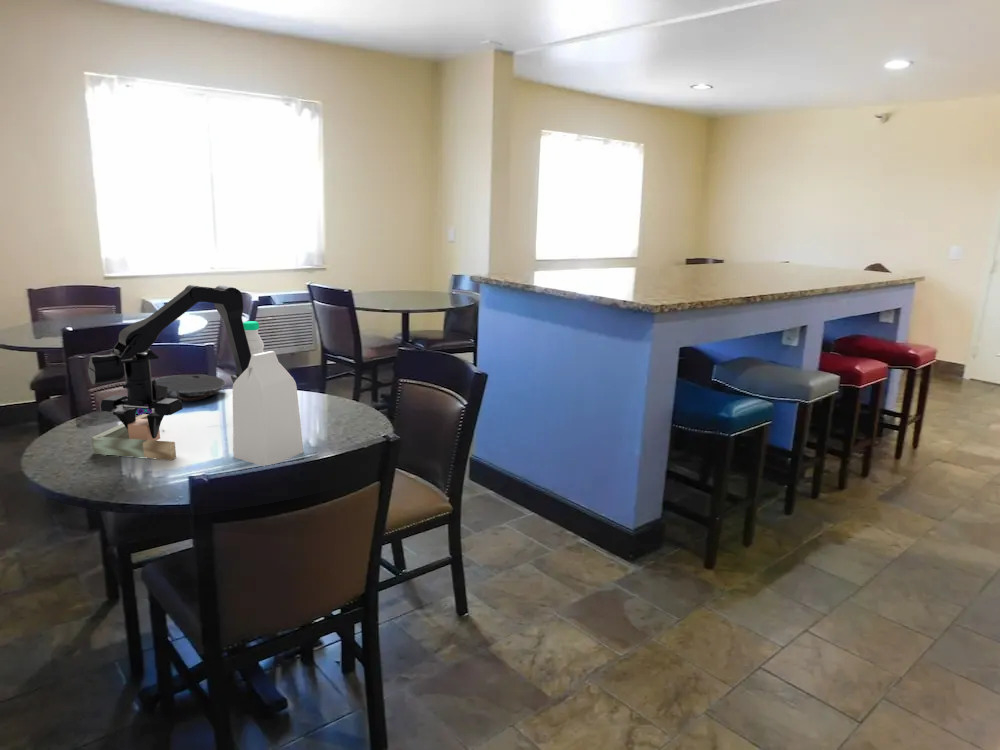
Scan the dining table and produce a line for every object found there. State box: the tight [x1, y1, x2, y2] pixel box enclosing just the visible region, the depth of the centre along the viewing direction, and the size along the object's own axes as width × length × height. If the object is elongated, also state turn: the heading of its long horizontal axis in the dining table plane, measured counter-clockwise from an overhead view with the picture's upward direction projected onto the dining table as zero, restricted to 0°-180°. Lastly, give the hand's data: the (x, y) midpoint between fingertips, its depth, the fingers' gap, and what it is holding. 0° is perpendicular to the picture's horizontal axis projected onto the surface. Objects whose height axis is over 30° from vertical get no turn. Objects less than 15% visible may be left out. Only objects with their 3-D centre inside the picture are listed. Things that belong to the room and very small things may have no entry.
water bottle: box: [243, 320, 265, 356], centre depth 213 cm, size 7×7×25 cm
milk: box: [232, 350, 304, 467], centre depth 166 cm, size 12×12×26 cm
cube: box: [128, 419, 161, 441], centre depth 172 cm, size 5×5×5 cm
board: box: [154, 374, 227, 403], centre depth 218 cm, size 22×22×5 cm
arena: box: [91, 414, 177, 461], centre depth 174 cm, size 21×21×4 cm
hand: (144, 437), depth 172 cm, fingers closed on cube, 5 cm apart
